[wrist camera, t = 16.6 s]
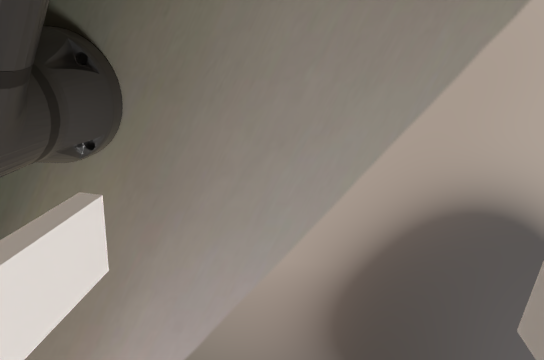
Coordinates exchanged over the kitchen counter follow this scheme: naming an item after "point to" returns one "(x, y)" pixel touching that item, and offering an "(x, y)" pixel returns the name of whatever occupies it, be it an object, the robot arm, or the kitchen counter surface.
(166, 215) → the kitchen counter surface
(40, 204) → the kitchen counter surface
